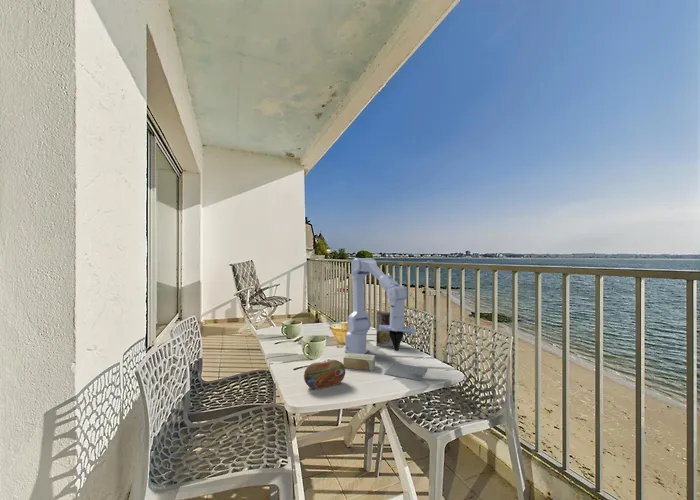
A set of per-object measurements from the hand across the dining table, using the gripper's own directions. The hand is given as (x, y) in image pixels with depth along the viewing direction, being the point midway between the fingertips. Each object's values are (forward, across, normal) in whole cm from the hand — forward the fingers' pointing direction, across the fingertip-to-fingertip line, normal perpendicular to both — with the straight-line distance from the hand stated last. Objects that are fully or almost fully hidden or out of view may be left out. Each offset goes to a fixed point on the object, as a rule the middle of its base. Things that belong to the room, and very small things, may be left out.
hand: (396, 350), depth 127 cm
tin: (+8, -19, -25) cm, 32 cm away
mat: (+8, +4, 0) cm, 9 cm away
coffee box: (+8, -14, +30) cm, 34 cm away
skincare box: (+6, -8, -2) cm, 10 cm away
